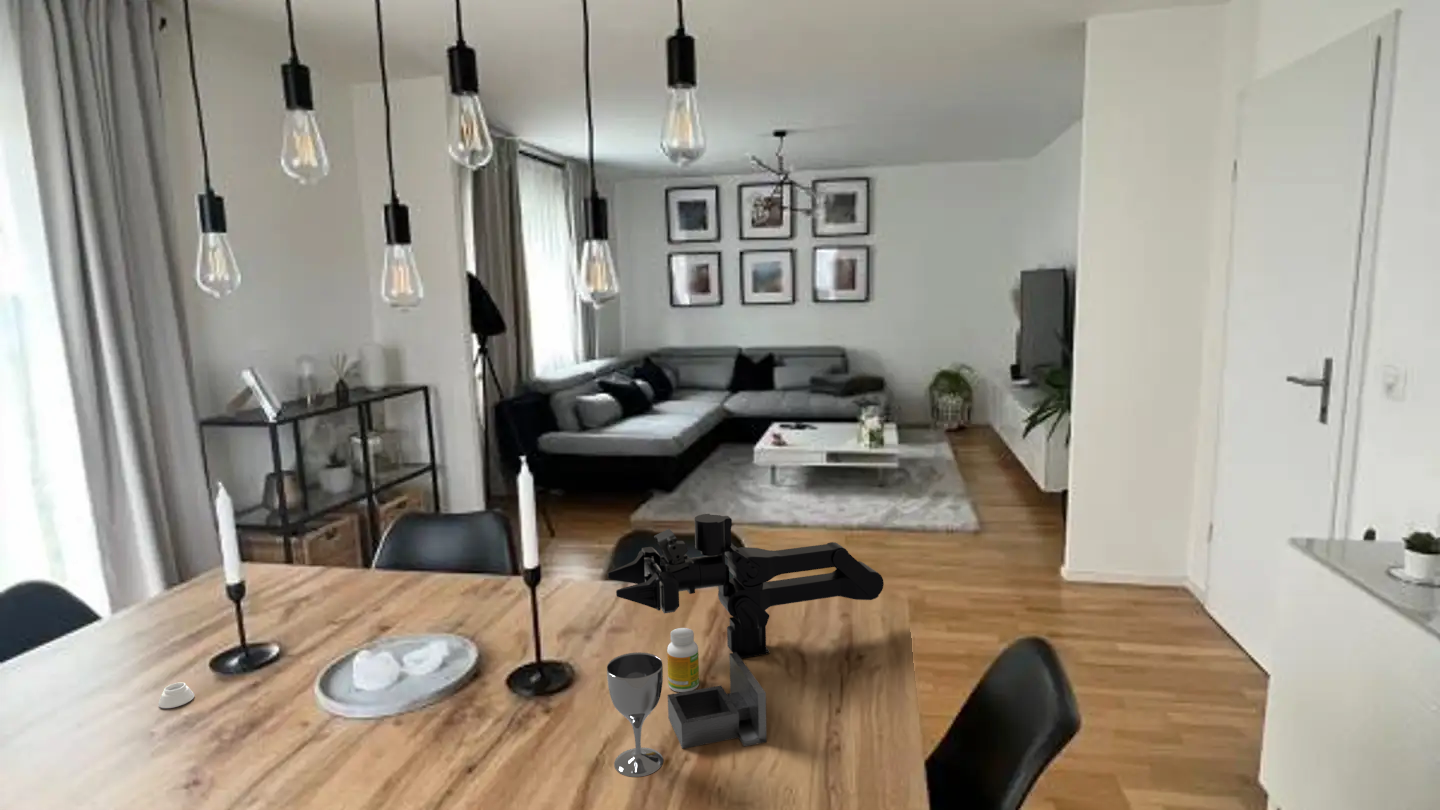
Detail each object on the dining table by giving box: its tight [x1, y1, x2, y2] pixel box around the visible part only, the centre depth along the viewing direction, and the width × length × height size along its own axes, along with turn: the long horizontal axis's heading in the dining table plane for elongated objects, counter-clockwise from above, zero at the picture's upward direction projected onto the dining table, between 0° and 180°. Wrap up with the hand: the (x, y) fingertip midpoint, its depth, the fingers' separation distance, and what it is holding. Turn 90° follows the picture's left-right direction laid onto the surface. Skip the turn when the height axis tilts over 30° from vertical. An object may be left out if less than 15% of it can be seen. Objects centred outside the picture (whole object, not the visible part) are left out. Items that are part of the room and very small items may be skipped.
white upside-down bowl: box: [157, 681, 195, 709], centre depth 133 cm, size 5×3×5 cm
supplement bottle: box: [666, 627, 700, 693], centre depth 134 cm, size 5×5×10 cm
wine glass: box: [606, 652, 664, 778], centre depth 112 cm, size 8×8×15 cm
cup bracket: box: [667, 652, 767, 750], centre depth 121 cm, size 12×14×8 cm
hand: (612, 584), depth 138 cm, fingers open, 9 cm apart
